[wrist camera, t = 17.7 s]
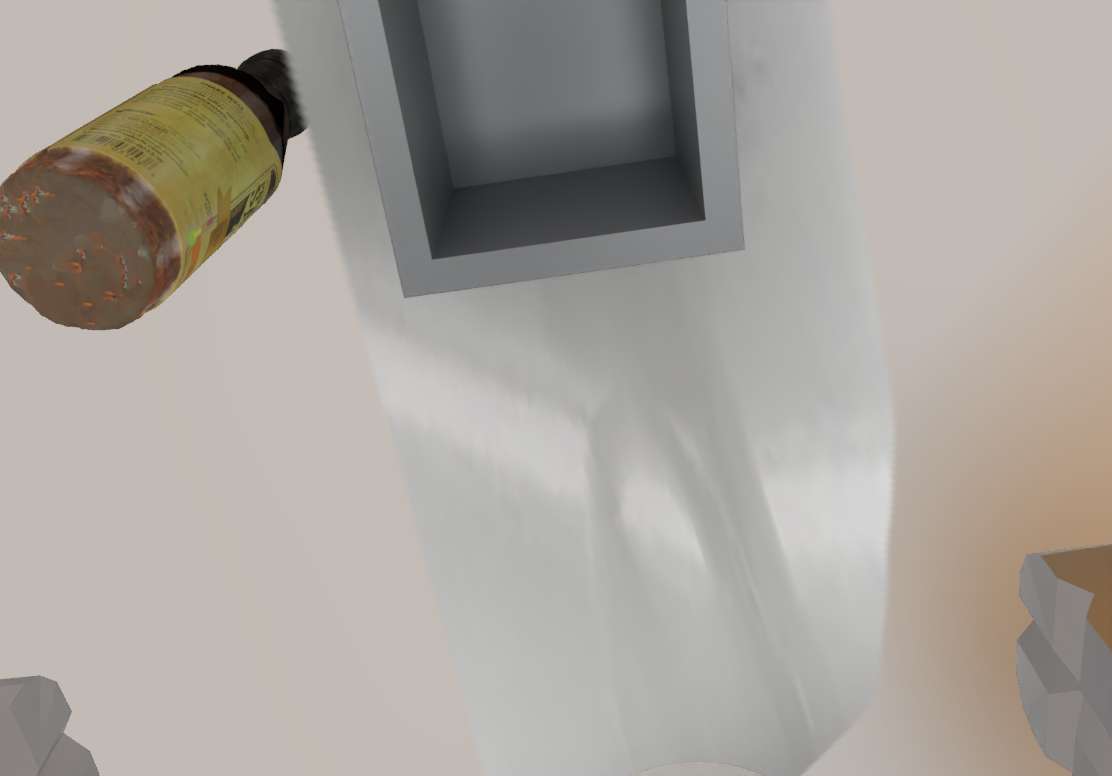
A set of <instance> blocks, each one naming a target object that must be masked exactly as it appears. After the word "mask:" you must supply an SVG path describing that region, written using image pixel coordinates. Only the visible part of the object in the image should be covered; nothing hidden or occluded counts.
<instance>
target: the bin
mask: <svg viewBox="0 0 1112 776" xmlns="http://www.w3.org/2000/svg"><path fill="white" fill-rule="evenodd" d="M338 4H339V9H340V13H341V17H342V22H343V26H344V31H345V35H346V40H347V44H348V49H349V53H350V58H351V62H352V67H353V71H354V76H355V80H356V85H357V89H358V94H359V98H360V102H361V107H362V111H363V116H364V120H365V125H366V129H367V134H368V138H369V143H370V147H371V152H372V156H373V161H374V165H375V170H376V174H377V178H378V183H379V187H380V192H381V196H382V201H383V205H384V210H385V214H386V219H387V223H388V228H389V232H390V237H391V241H392V246H393V250H394V254H395V259H396V263H397V268H398V272H399V277H400V281H401V286H402V290H403V295H404V298H408V297H415V296H422V295H429V294H436V293H443V292H450V291H457V290H464V289H471V288H478V287H485V286H492V285H499V284H506V283H513V282H520V281H527V280H534V279H541V278H549V277H556V276H563V275H570V274H577V273H584V272H591V271H598V270H605V269H612V268H619V267H626V266H633V265H640V264H647V263H654V262H661V261H668V260H675V259H682V258H689V257H696V256H703V255H710V254H717V253H724V252H731V251H738V250H745V249H744V235H743V222H742V209H741V195H740V182H739V168H738V155H737V141H736V128H735V114H734V101H733V87H732V74H731V60H730V47H729V34H728V20H727V7H726V0H338Z"/></svg>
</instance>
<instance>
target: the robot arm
mask: <svg viewBox="0 0 1112 776" xmlns="http://www.w3.org/2000/svg"><path fill="white" fill-rule="evenodd" d="M1019 597H1020V598H1021V600H1022V602H1023V603H1024V605H1025V606H1026V608H1027V609H1028V611H1029V613H1030V614H1031V616H1032V617H1033V619H1034V620H1033V622H1032V623H1031V624H1030V625H1029V626H1028V628H1027V629H1026V630H1025V631H1024V632H1023V634H1022V635H1021V636H1020V637H1019V638H1018V640H1017V678H1018V684H1019V689H1020V694H1021V699H1022V704H1023V708H1024V711H1025V713H1026V716H1027V719H1028V722H1029V724H1030V727H1031V729H1032V732H1033V734H1034V736H1035V738H1036V739H1037V741H1038V743H1039V745H1040V747H1041V748H1042V750H1043V752H1044V754H1045V756H1046V757H1047V758H1049V759H1051V760H1052V761H1054V762H1056V763H1058V764H1059V765H1061V766H1062V767H1064V768H1066V769H1067V770H1069V771H1071V772H1072V773H1073V776H1112V543H1111V544H1102V545H1095V546H1087V547H1080V548H1072V549H1063V550H1056V551H1048V552H1040V553H1033V554H1027V555H1026V557H1025V560H1024V562H1023V565H1022V568H1021V572H1020V588H1019ZM71 712H72V711H71V709H70V707H69V705H68V703H67V701H66V699H65V697H64V695H63V693H62V691H61V689H60V687H59V685H58V683H57V682H56V681H53V680H51V679H48V678H45V677H42V676H30V677H21V678H10V679H0V776H99V772H98V769H97V767H96V765H95V763H94V760H93V758H92V756H91V753H90V751H89V750H88V749H86V748H85V747H83V746H82V745H80V744H79V743H77V742H76V741H74V740H73V739H71V738H70V737H69V736H67V735H66V734H64V730H65V727H66V724H67V722H68V720H69V717H70V715H71ZM631 776H762V775H760V774H758V773H755V772H753V771H750V770H747V769H744V768H741V767H737V766H733V765H728V764H722V763H713V762H683V763H674V764H667V765H663V766H658V767H654V768H650V769H647V770H644V771H641V772H639V773H636V774H633V775H631Z"/></svg>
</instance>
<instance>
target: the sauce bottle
mask: <svg viewBox="0 0 1112 776" xmlns="http://www.w3.org/2000/svg"><path fill="white" fill-rule="evenodd" d="M306 129H307V127H306V125H305V118H304V116H303V114H302V107H301V105H300V103H299V99H298V93H297V91H296V89H295V82H294V80H293V77H292V74H291V68H290V66H289V63H288V57H287V54H286V52H285V50H281V49H270V50H265V51H261V52H259V53H257V54H255V55H253V56H251V57H249V58H248V59H246V60H245V61H243V62H242V63H241V64H240V65H239V67H238V68H237V69H236V68H234V67H230V66H223V65H219V64H217V65H197V66H195V67H191V68H189V69H187V70H183V71H181V72H180V73H177V74H176V75H174V76H173V77H171V78H169V79H166V80H164V81H162V82H161V83H159V84H155V85H152V86H150V87H149V88H147V89H145V90H144V91H142V92H140V93H138V94H137V95H136V96H133V97H132V98H130V99H128V100H127V101H125V102H123V103H121V104H120V105H118V106H116V107H115V108H113V109H111V110H110V111H108V112H106V113H104V114H103V115H101V116H99V117H97V118H96V119H94V120H92V121H91V122H89V123H87V124H86V125H84V126H82V127H80V128H79V129H77V130H75V131H74V132H72V133H70V134H69V135H67V136H65V137H64V138H62V139H60V140H59V141H57V142H56V143H54V144H52V145H51V146H48V147H47V148H45V149H43V150H41V151H39V152H38V153H36V154H34V155H33V156H32V157H30V158H29V159H27V160H26V161H25V162H24V163H23V164H22V165H20V166H19V168H18V169H17V170H16V172H15V173H13V174H11V175H10V176H9V177H8V178H7V179H6V180H5V181H4V182H3V183H2V185H1V186H0V272H1V273H2V275H3V276H4V277H5V279H6V280H7V282H8V283H9V285H10V287H11V288H12V289H13V290H14V291H15V292H16V293H18V294H19V295H20V296H21V297H22V298H23V299H24V300H25V301H27V302H28V303H30V304H31V305H32V306H33V307H34V308H35V309H36V310H37V311H38V312H39V313H40V314H41V315H42V316H44V317H46V318H48V319H49V320H51V321H53V322H55V323H57V324H61V325H64V326H67V327H79V328H81V329H88V330H110V329H119V328H121V327H124V326H125V325H127V324H129V323H131V322H133V321H134V320H136V319H138V318H140V317H141V316H143V314H144V313H146V312H148V311H150V310H152V309H154V308H156V307H157V306H159V305H160V304H161V303H163V302H164V301H165V300H166V299H167V298H168V297H169V296H170V295H171V294H172V293H173V292H174V291H175V290H176V289H177V288H178V287H179V286H180V285H181V284H182V283H183V282H184V281H185V280H186V279H187V278H189V277H190V275H192V273H193V272H195V271H196V270H197V269H198V268H199V267H200V266H201V265H202V264H203V263H204V262H205V261H206V260H207V259H208V258H209V257H210V256H211V255H212V254H213V253H214V252H215V251H216V250H218V249H219V247H221V245H222V244H223V243H224V242H225V241H226V240H228V238H230V237H231V236H232V235H233V234H234V233H235V232H236V231H237V230H238V229H239V228H240V227H242V225H243V224H244V223H245V222H246V221H247V219H249V217H250V216H252V214H254V213H255V212H256V211H257V210H258V209H259V208H260V207H261V206H262V205H263V204H264V203H266V201H267V200H268V199H269V198H270V197H271V196H272V195H273V193H274V192H275V191H276V189H277V188H278V185H279V183H280V181H281V176H282V170H283V164H284V159H285V153H286V148H287V143H288V139H290V138H293V137H295V136H297V135H299V134H301V133H302V132H303V131H304V130H306Z"/></svg>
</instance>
